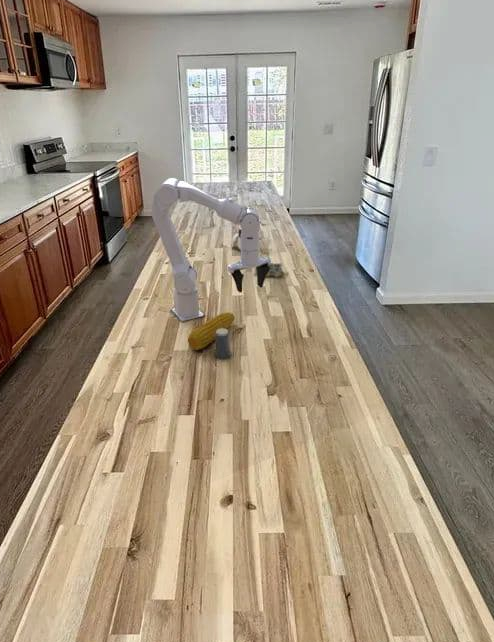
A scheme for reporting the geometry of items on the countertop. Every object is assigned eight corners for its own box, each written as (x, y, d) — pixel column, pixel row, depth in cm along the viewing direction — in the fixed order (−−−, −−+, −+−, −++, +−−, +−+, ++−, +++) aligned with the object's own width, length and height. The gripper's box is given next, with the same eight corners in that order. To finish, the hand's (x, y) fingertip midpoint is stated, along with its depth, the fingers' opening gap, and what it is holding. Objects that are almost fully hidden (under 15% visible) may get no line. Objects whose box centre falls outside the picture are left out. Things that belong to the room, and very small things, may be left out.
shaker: (221, 349, 125) (220, 326, 122) (232, 354, 123) (232, 330, 120) (213, 356, 122) (212, 332, 119) (224, 360, 120) (223, 336, 117)
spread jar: (255, 253, 199) (255, 228, 194) (230, 253, 199) (229, 228, 194) (254, 244, 210) (254, 221, 205) (230, 245, 210) (230, 221, 205)
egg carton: (254, 276, 174) (254, 266, 173) (257, 269, 181) (257, 260, 179) (280, 277, 172) (280, 268, 171) (282, 270, 179) (282, 261, 177)
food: (201, 355, 123) (200, 337, 120) (185, 350, 125) (183, 332, 123) (238, 323, 139) (238, 307, 136) (223, 319, 142) (222, 303, 139)
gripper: (263, 241, 141) (262, 280, 147) (223, 249, 135) (224, 288, 141) (275, 247, 135) (274, 287, 141) (233, 255, 129) (234, 297, 135)
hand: (249, 288), depth 141 cm, fingers open, 7 cm apart
